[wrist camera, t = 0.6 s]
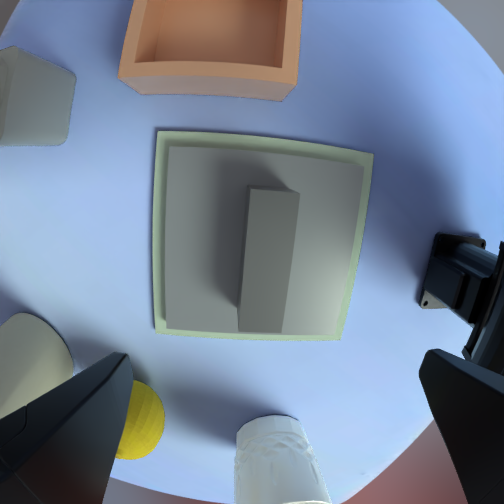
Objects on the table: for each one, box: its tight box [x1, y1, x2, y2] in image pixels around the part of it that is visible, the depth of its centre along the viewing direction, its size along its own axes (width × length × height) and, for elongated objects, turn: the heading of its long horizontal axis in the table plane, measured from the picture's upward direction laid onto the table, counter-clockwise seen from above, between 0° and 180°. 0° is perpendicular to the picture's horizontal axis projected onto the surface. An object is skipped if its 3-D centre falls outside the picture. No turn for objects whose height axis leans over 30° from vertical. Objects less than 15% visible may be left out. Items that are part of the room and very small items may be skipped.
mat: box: [153, 131, 374, 341], centre depth 20 cm, size 14×14×1 cm
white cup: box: [234, 415, 332, 504], centre depth 21 cm, size 8×8×10 cm
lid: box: [165, 146, 364, 335], centre depth 18 cm, size 12×12×4 cm
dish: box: [118, 0, 303, 102], centre depth 14 cm, size 9×9×4 cm
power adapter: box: [0, 46, 76, 147], centre depth 10 cm, size 3×5×12 cm, turn 173°
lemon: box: [115, 380, 165, 460], centre depth 19 cm, size 6×6×8 cm
